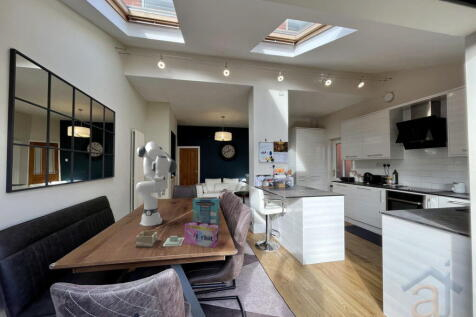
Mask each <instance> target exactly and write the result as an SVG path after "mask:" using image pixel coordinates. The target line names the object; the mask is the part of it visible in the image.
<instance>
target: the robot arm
mask: <svg viewBox="0 0 476 317" xmlns="http://www.w3.org/2000/svg"><path fill="white" fill-rule="evenodd" d="M136 154H137V156H138V157H139V158H142V159H143V161H142V162H143V164H142V166H143V168H142V170H143V177H145V178H147V179H149V181H148V180H146V181H145V180H144V181H140V182H137V183H136V185H135V191H136V193H138V194H139V195H140V196H141V197H142V199H143V206H144V207H143V213H142V215H141V220H140V222H139V225H141V226H144V227H152V226H156V225H157V226H158V225H160V224H162V222H163V218H162V217H161V213H160V212H159V206H158V198H161V197H162V196H165V195H166V190H167V189H168V182H169V181H168V180H169V174H173V173H174V172H176V170H177V169H178V167H177V166H178V164H177V162H176V161H175V160H174V159H172V157H171V156H170V155H169V153H167V152H166V151H164V150H163V148H162V147H161V146H159V145H158V143H157V142H155V141H152V140H151V141H148V142H147V143H146V145H140V146H139V147H137V150H136ZM152 194H157V197H155V196H152Z"/></svg>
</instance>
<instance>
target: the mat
mask: <svg viewBox="0 0 476 317" xmlns="http://www.w3.org/2000/svg"><path fill="white" fill-rule="evenodd" d="M169 238H170V237H167V239H165V240H166V241H165V242H164V243H163V244H162V247H181V246H182V245H183V243H184V241H185V236H184V237H181V238H182V240H181V242H180V244H179V245H165V243H166V242H167V241H168V239H169Z"/></svg>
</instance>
